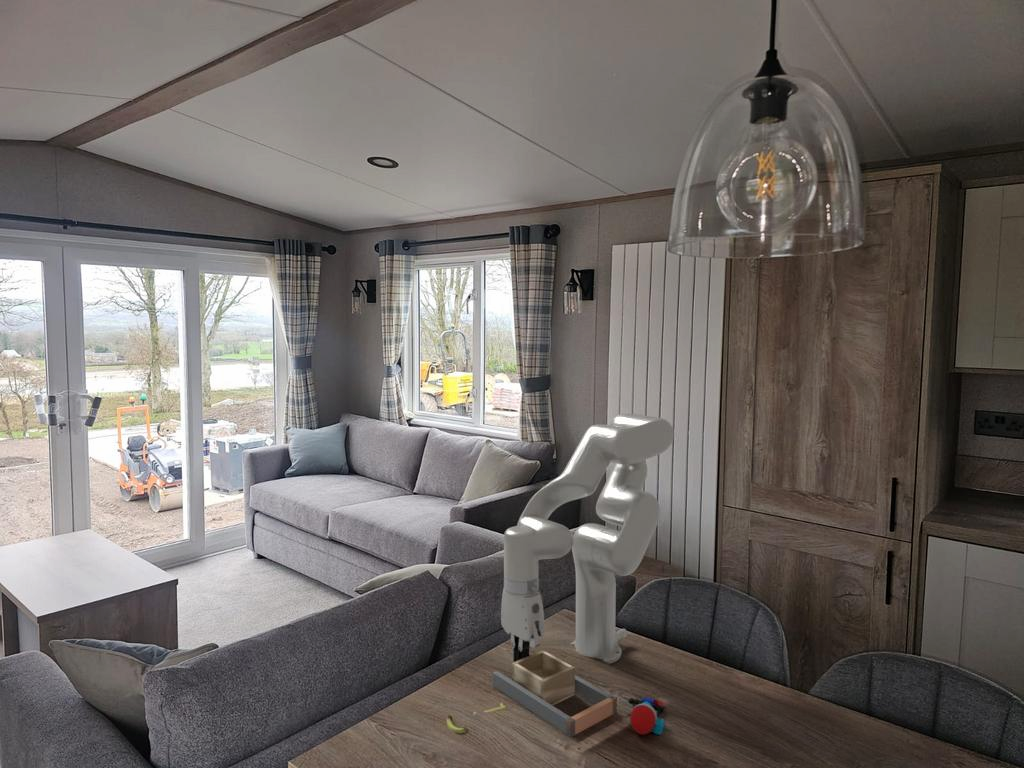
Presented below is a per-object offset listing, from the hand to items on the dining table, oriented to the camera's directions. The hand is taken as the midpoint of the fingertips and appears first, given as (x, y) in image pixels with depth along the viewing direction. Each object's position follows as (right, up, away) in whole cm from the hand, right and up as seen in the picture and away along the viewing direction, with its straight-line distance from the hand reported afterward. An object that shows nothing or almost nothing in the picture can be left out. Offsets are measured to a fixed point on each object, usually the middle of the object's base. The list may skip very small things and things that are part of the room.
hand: (521, 664), depth 149 cm
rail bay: (+6, -5, -7) cm, 11 cm away
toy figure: (+25, -6, -13) cm, 29 cm away
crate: (+4, -4, -5) cm, 8 cm away
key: (-10, -6, -13) cm, 17 cm away
